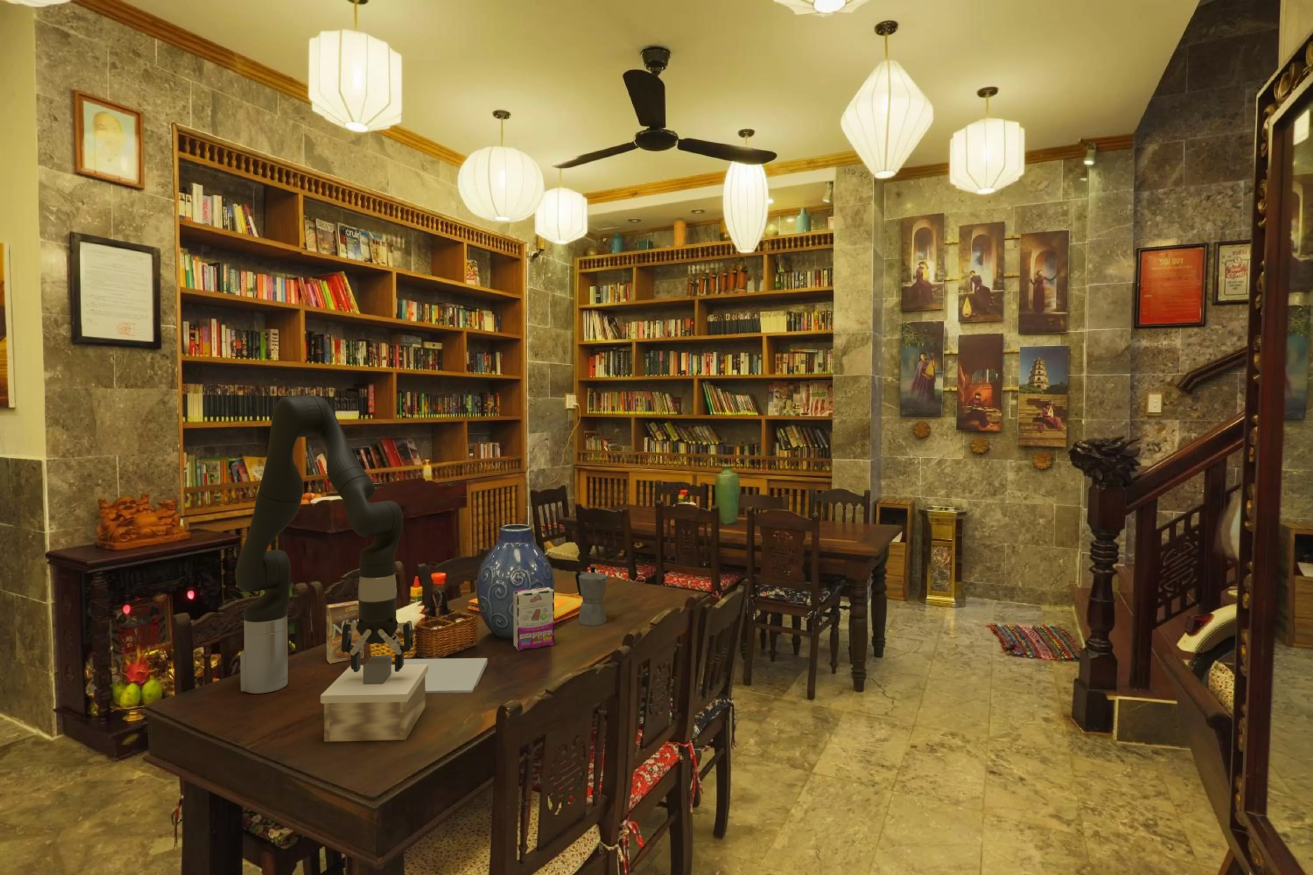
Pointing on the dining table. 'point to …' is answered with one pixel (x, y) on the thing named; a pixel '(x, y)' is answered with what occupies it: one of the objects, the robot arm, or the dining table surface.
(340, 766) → the dining table surface
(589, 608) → the coffeepot
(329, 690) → the lid
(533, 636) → the candy bar box
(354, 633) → the candy box
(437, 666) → the plate
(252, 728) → the dining table surface
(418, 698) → the wooden box
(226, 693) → the dining table surface
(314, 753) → the dining table surface
